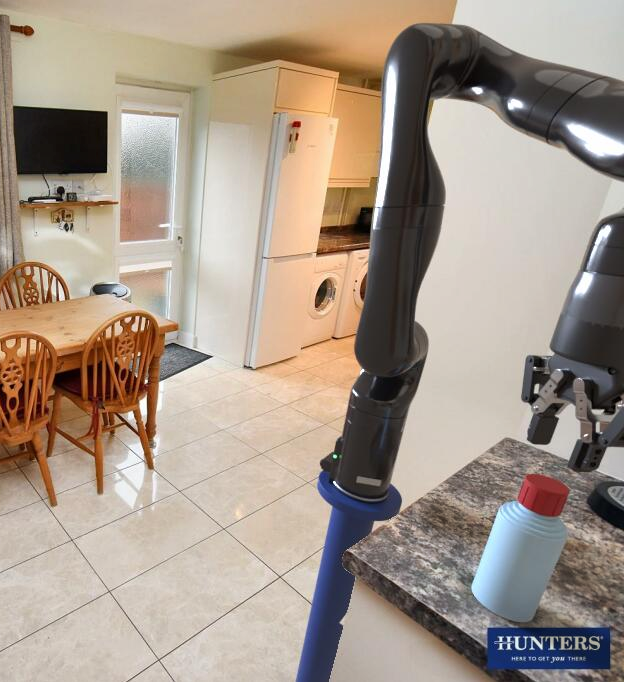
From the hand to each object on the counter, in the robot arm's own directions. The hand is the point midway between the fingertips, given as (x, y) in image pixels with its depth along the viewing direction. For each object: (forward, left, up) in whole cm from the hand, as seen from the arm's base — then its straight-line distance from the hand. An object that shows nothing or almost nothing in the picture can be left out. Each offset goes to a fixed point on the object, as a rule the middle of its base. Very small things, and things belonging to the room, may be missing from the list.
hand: (557, 455), depth 52 cm
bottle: (0, 0, -22) cm, 22 cm away
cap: (0, 0, -7) cm, 7 cm away
